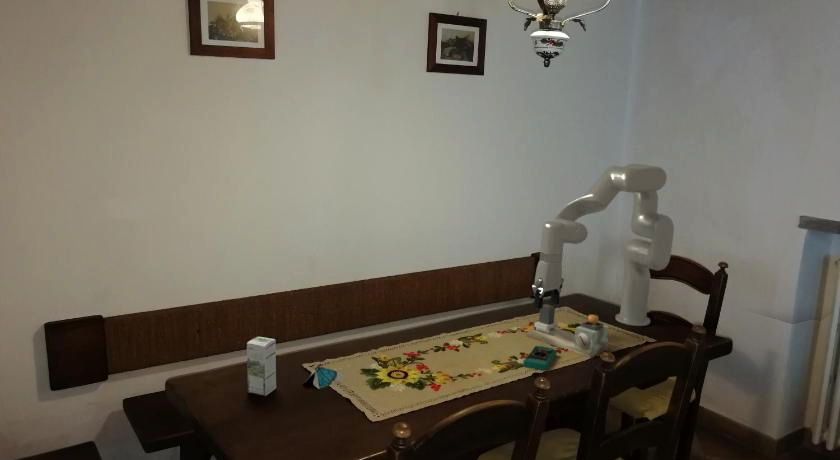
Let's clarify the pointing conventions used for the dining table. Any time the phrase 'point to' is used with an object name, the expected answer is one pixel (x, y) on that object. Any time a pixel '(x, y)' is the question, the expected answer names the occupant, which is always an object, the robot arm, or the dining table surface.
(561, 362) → the dining table surface
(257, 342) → the syrup box
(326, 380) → the decorative butterfly
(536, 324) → the carriage
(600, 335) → the rail bed
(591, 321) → the button
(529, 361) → the digital multimeter
